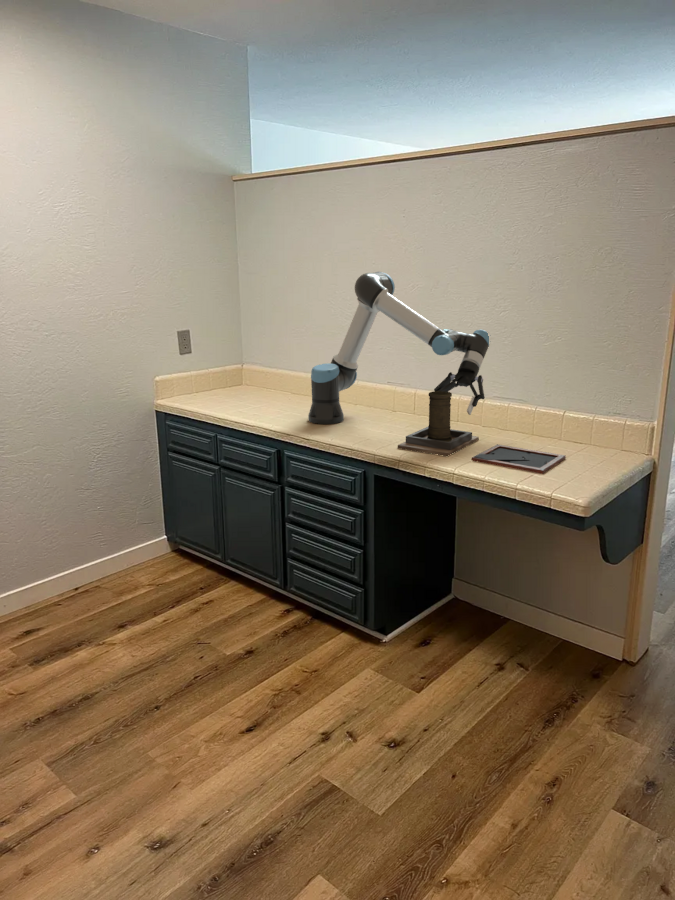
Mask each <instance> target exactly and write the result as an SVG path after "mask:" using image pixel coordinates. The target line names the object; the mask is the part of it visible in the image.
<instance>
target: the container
mask: <svg viewBox="0 0 675 900" xmlns="http://www.w3.org/2000/svg"><path fill="white" fill-rule="evenodd" d="M452 396H453V393H452V392H450V391H448V392H446V391H434V390H433V391H430V392H428V399H429V404H428V407H429V408H428V425H427V427H428V428H429V429H428V434H427V435H428V437H427V439H434V440H440V441H447V442H449V441H451V440H452V439H451V437H450V436H451V433H450V429H451V406H452V404H451V400H452Z"/></svg>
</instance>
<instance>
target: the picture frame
mask: <svg viewBox="0 0 675 900" xmlns="http://www.w3.org/2000/svg"><path fill="white" fill-rule="evenodd" d="M566 458H567V456H566V455H564V454H558V453H551V452H546V451H540V450H535V449H528V448H523V447H515V446H510V445H509V446H508V445H503V444H495V445H494V446H491V447H489V448H488V449H486V450H484V451H481V452H479V453H477V454H475V455H473V456H472V457H471V460H473V461H472V462H476V461H478V462H477V463H483V464H488V465H493V466H499V467H505V468H511V469H515V470H521V471H527V472H531V473H536V474H545V473H546V472H548V471H550V469H552V468H554V467H555V466H557V465H558V464H560V463H561V462H563V461H565V459H566Z"/></svg>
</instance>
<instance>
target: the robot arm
mask: <svg viewBox="0 0 675 900" xmlns="http://www.w3.org/2000/svg"><path fill="white" fill-rule="evenodd" d="M395 287H396V286H395V281H394V280H393V278H392V277H391V275H390V274H388V273H386V272H382V271H375V272H366V273H363V274H361V275H360V276H359V277H357V279H356V281H355V283H354V293H355V296H356V297H357V298H356V300H357V302H358V305H357V308H356V309H355V312H354V315H353V317H352V319H351V320H352V321H351V322H350V325H349V327H348V329H347V332H346V335H345V337H344V339H343V342H342V344H341V346H340V349H339V351H338V354H334V355H333V357H332V358H331V362H330V363H328V362H327V363H322V364H317V365H314V366H313V367H312V369H311V374H310V379H311V380H310V381H311V404H310V409H309V412H308V415H307V416H308V417H307V419H308V420H309V421H310V422H309V421H308V422H309V423H311V422H312V424H315V423H318V424H317V425H334V424H338V423H342V422H343V421H344V419H345V417H344V415H345V414H344V412H343V409H342V406H341V403H340V392H341V391H345V390H346V389H349V388H350V387H352V386H353V385H354V384H355V382H356V380H357V377H358V372H357V371H358V368H359V365H358V362H357V361H358V359H359V356H360V355H361V351H362V350H363V348H364V345H365V343H366V341H367V338H368V336H369V333H370V331H371V329H372V326H373V324H374V322H375V319H376V317H377V316H378V313H379V312H381V313H383V314H384V315H385V316H387V318H390V320H392V321H394V322H395V323H396V324H398V325H399V326H400V327H402V328H403V329H405V330H407V331H408V332H410V334H412V335H413V336H415V337H417V338H418V339H419V340H421V341H422V342H424V343H425V344H426V345H428V346H429V347H431V349H432V352H434V353H435V354H436V355H437V356H446V355H447V356H448V355H449V354H451V353H452V352H455V351H456V352H461V353H464V355H463V357H462V359H461V362H460V365H459V367H458V369H457V373H455V374H454V373H453V372H451V371H450V372H449V373H448V375H447V376H446V377H445V378H444V379H443V380H442V381H441V382H440V383H439V384H438V385H437V386H435V388H434V389H433V391H446V392H450V391H451V390H452V389H455V388H457V387H465V388H467V387H469V388H470V391H471V392H472V393H473V395H474V396H472V397H471V399H470V401H469V404H468V406H467V408H466V412H467V414H468V415H469V416H470V415H472V412H473V409H474V407H477V406H478V402H479V401H480V400H485V392H484V384H483V383H484V378H483V376H482V374H480V375H479V371H480V368H481V366H482V364H483V361H484V358H485V357H486V354H487V351H488V349H489V348H488V347H490V344H489V336H488V333H489V332H488V331H487V330H484V329H476V330H474V331H473V333H466V332H462V331H456V330H453V329H449V328H448V329H447V328H444V329H441V328H439V326H437V325H436V324H434V323H433V322H431V321H430V320H428V318H425V316H423V315H421V314H420V313H418V312H417V311H415V310H414V309H413V308H411V307H409V306H408V305H407V304H406V303H404V302H402V301H401V300H399V299H398V298H397V297H395V296H394V294H395V293H394V292H395ZM487 332H488V333H487ZM475 382H477V386H478V392H479V394H478V392H477V391H476V388H475V387H474V384H473V383H475Z"/></svg>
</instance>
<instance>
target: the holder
mask: <svg viewBox="0 0 675 900" xmlns="http://www.w3.org/2000/svg"><path fill="white" fill-rule="evenodd" d="M428 429H429V428H428V426H426V427H424V428H422V429H419V430H417V431H414V432H412V433H410V434H408V435H406V436H405V441H403V442H402V443H400V444H398V445H397V449H399V448H402V449H401V450H405V449H407V450H406V451H411V450H412V452H417V451H418V452H417V453H423V452H425V453H424V454H429V453H432V454H431V455H435V454H438V455H437V456H440V455H443V457H446V456H448V455H450V454H452V453H454V452H455V453H457V452H459V451H461V450H462V448H463V449H465V448H467V447H468V446H471V445H472V444H473V443H476V442H478V441H479V439H480V437H479V436H475V435H473V432H472V431H465V430H459V429H457V430H456V429H451V428H450V433H451V436H450V437H451V439H452V440H451V441H449V442H447V441H440V440H434V439H427V437H428V435H427V434H428ZM477 440H478V441H477ZM466 446H467V447H466ZM464 447H465V448H464ZM460 449H461V450H460ZM458 450H459V451H458ZM456 451H457V452H456ZM455 453H454V454H455ZM452 455H453V454H452ZM450 456H451V455H450ZM448 457H449V456H448Z"/></svg>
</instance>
